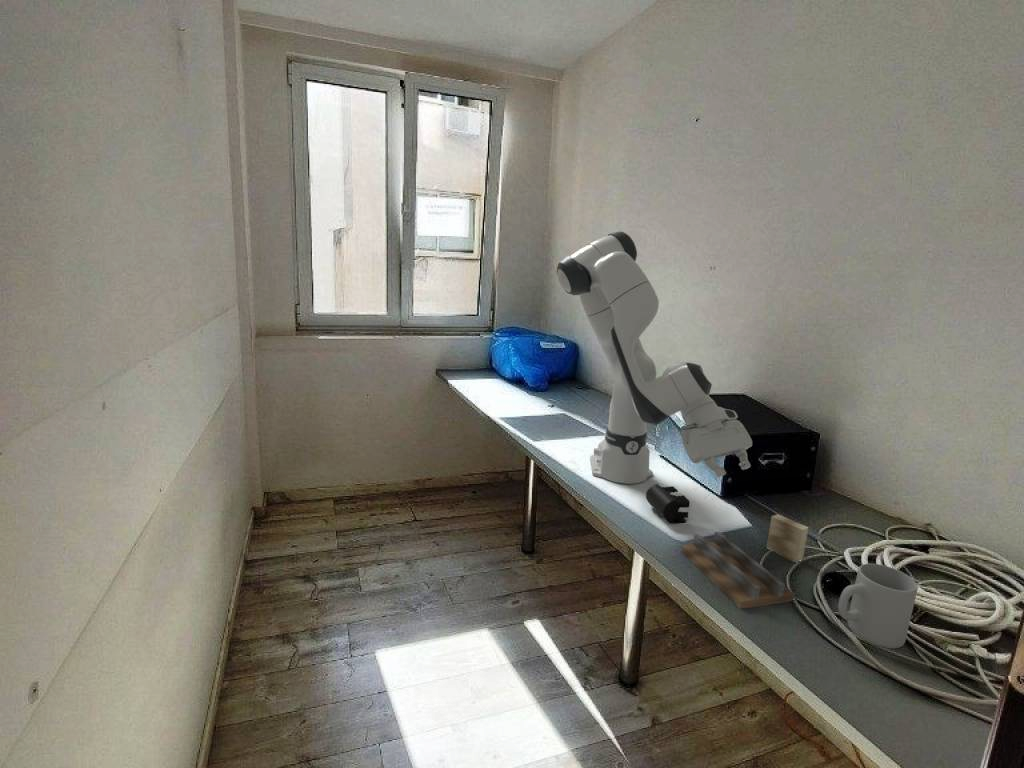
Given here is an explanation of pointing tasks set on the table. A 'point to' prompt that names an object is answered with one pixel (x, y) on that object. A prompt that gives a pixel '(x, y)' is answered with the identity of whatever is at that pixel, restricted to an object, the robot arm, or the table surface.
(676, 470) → the table surface
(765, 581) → the track board
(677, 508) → the black notched cylinder
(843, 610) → the mug
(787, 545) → the beige rectangular block
